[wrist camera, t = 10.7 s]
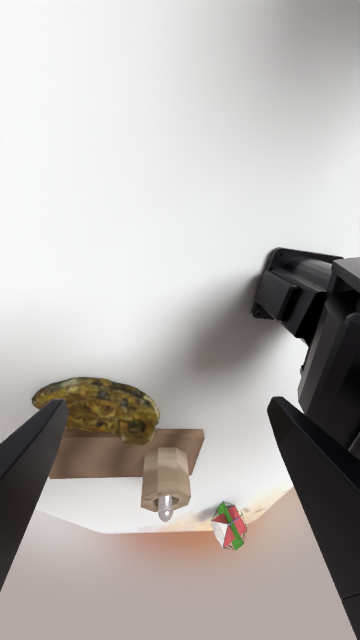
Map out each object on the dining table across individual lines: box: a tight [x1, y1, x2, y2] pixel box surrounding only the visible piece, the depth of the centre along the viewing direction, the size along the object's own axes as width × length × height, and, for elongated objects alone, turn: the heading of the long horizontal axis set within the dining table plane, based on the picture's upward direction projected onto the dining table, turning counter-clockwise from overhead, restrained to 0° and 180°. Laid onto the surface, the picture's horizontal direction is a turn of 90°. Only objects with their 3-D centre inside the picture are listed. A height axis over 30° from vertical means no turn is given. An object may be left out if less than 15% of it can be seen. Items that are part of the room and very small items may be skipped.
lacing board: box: [49, 428, 204, 479], centre depth 29 cm, size 22×11×1 cm, turn 82°
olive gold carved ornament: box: [32, 377, 160, 445], centre depth 23 cm, size 9×5×15 cm
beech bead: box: [141, 447, 191, 512], centre depth 27 cm, size 6×6×5 cm
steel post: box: [158, 496, 173, 522], centre depth 26 cm, size 2×2×7 cm
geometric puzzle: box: [211, 501, 247, 551], centre depth 41 cm, size 7×7×8 cm
